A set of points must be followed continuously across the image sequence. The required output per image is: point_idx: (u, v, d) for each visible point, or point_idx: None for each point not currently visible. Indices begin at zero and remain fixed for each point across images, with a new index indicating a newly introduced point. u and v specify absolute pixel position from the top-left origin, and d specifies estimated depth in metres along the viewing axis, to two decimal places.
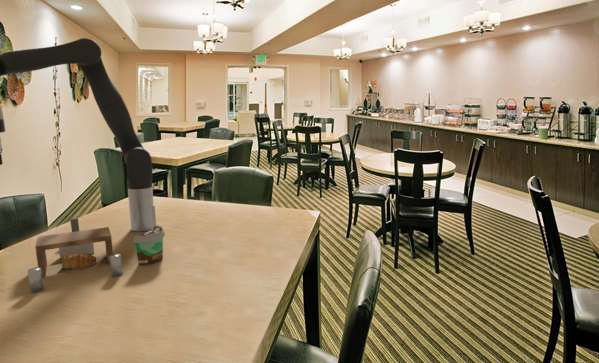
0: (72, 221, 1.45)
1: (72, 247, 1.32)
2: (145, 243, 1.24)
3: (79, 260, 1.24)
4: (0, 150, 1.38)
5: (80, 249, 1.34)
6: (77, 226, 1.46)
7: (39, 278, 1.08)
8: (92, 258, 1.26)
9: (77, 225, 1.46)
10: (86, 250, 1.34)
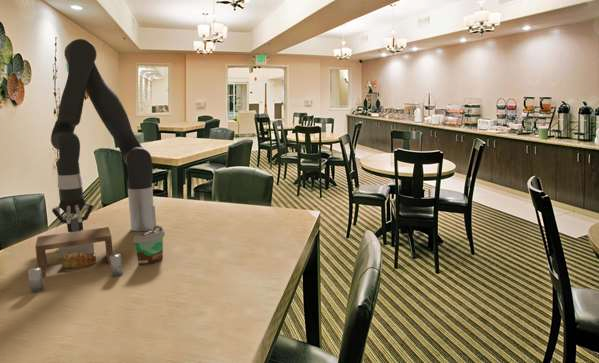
0: (72, 220, 1.45)
1: (72, 247, 1.32)
2: (145, 243, 1.24)
3: (79, 259, 1.24)
4: None
5: (80, 249, 1.34)
6: (77, 225, 1.46)
7: (39, 278, 1.08)
8: (92, 257, 1.27)
9: (77, 224, 1.46)
10: (86, 250, 1.34)
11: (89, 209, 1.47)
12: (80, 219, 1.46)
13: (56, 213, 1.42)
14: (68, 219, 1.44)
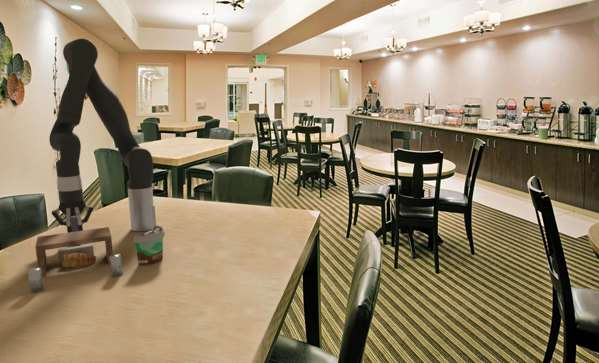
0: (72, 220, 1.42)
1: (71, 250, 1.29)
2: (145, 243, 1.24)
3: (79, 259, 1.25)
4: None
5: (80, 252, 1.31)
6: (77, 225, 1.43)
7: (39, 278, 1.08)
8: (92, 257, 1.27)
9: (77, 224, 1.43)
10: None
11: (89, 211, 1.44)
12: (80, 222, 1.43)
13: (55, 215, 1.39)
14: (68, 222, 1.41)
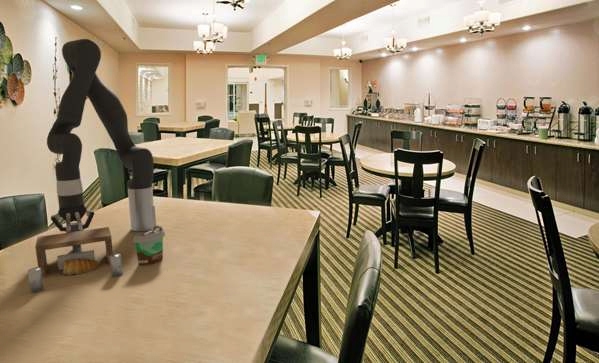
0: (72, 227, 1.36)
1: (72, 257, 1.23)
2: (145, 243, 1.24)
3: (82, 264, 1.20)
4: None
5: None
6: None
7: (39, 278, 1.08)
8: (94, 262, 1.23)
9: None
10: None
11: (90, 216, 1.38)
12: (81, 227, 1.37)
13: (55, 221, 1.33)
14: (68, 228, 1.35)
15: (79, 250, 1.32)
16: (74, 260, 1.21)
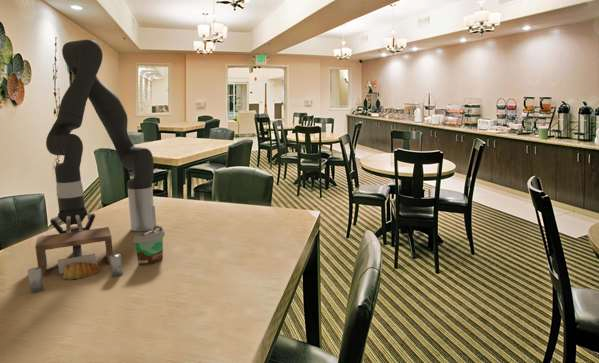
0: (72, 230, 1.33)
1: (72, 261, 1.20)
2: (145, 243, 1.24)
3: (83, 269, 1.17)
4: None
5: None
6: None
7: (39, 278, 1.08)
8: (95, 266, 1.20)
9: None
10: None
11: (91, 219, 1.34)
12: (81, 230, 1.33)
13: (55, 224, 1.29)
14: (68, 231, 1.31)
15: (80, 254, 1.29)
16: (75, 264, 1.18)
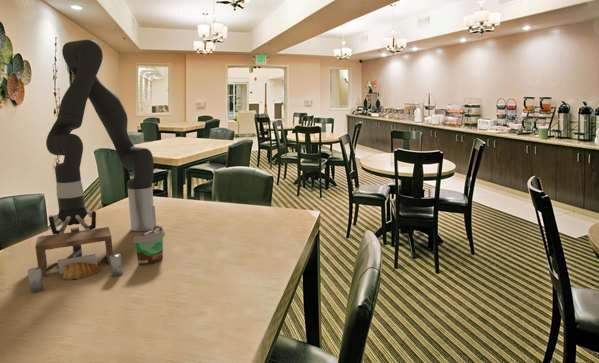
0: (73, 231, 1.33)
1: (73, 261, 1.20)
2: (145, 243, 1.24)
3: (83, 269, 1.17)
4: None
5: None
6: None
7: (39, 278, 1.08)
8: (95, 266, 1.20)
9: None
10: None
11: (93, 216, 1.34)
12: (88, 228, 1.34)
13: (51, 222, 1.28)
14: (62, 230, 1.30)
15: (80, 255, 1.29)
16: (74, 264, 1.18)
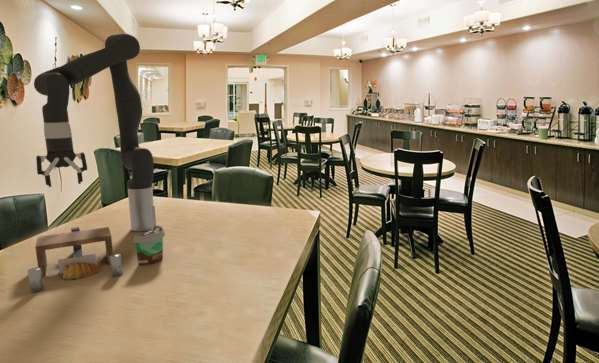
0: (73, 231, 1.34)
1: (73, 261, 1.21)
2: (145, 243, 1.24)
3: (82, 269, 1.17)
4: None
5: None
6: None
7: (39, 278, 1.08)
8: (94, 266, 1.20)
9: None
10: None
11: (83, 158, 1.33)
12: (79, 169, 1.33)
13: (38, 161, 1.27)
14: (48, 171, 1.29)
15: (80, 255, 1.30)
16: (74, 264, 1.18)
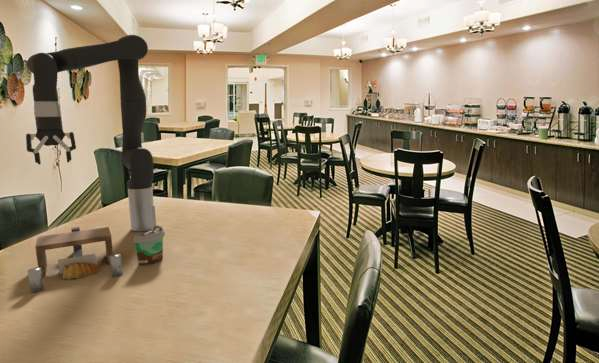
0: (73, 231, 1.34)
1: (72, 261, 1.21)
2: (145, 243, 1.24)
3: (82, 268, 1.17)
4: None
5: None
6: None
7: (39, 278, 1.08)
8: (94, 265, 1.20)
9: None
10: None
11: (71, 137, 1.37)
12: (68, 148, 1.37)
13: (28, 139, 1.31)
14: (37, 149, 1.33)
15: (80, 254, 1.30)
16: (73, 264, 1.18)
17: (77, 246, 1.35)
